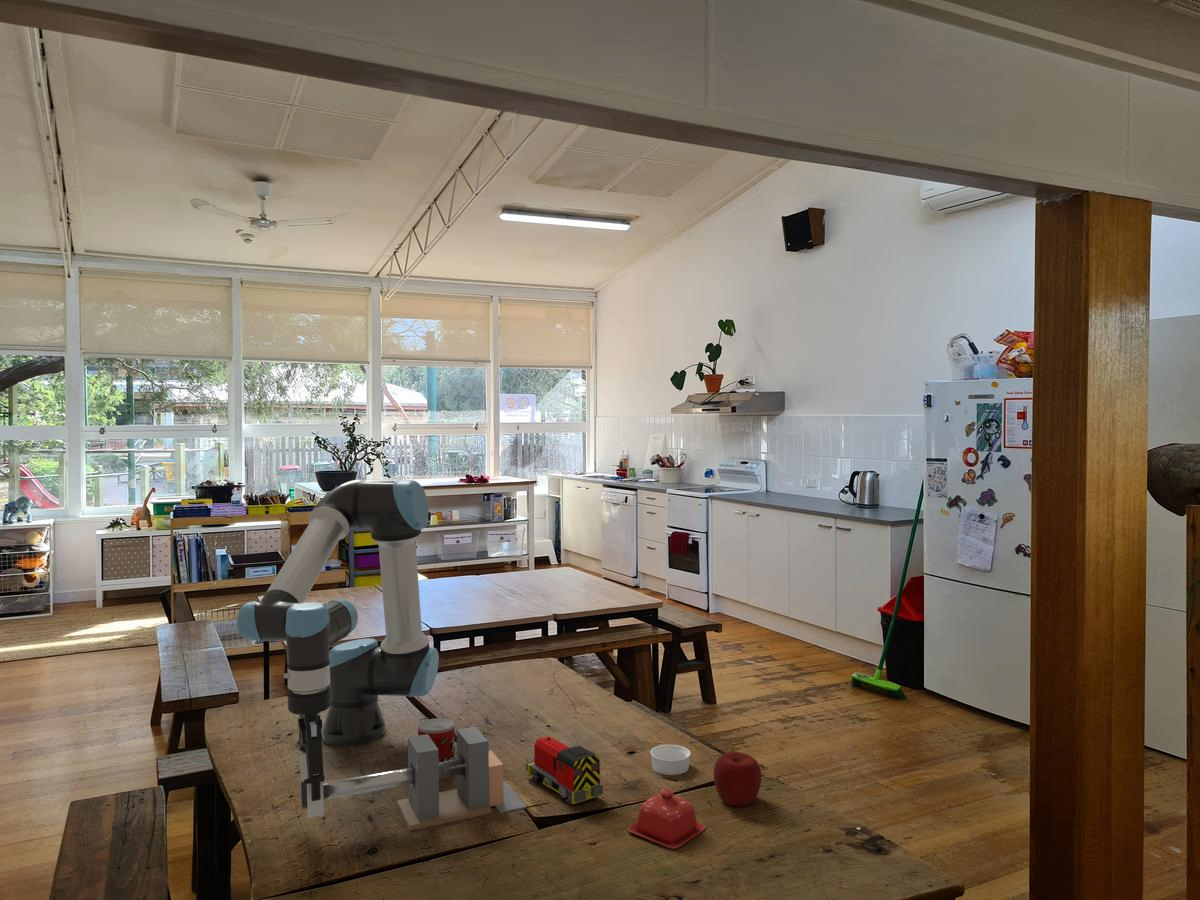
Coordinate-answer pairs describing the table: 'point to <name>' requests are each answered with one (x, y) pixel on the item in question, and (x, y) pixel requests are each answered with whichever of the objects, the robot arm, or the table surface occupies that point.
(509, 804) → the mat
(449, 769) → the shaft
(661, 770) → the ramekin
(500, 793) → the block
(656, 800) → the butter dish
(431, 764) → the bearing frame
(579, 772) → the toy train
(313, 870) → the table surface
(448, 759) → the canned food
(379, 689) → the robot arm
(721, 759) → the apple
